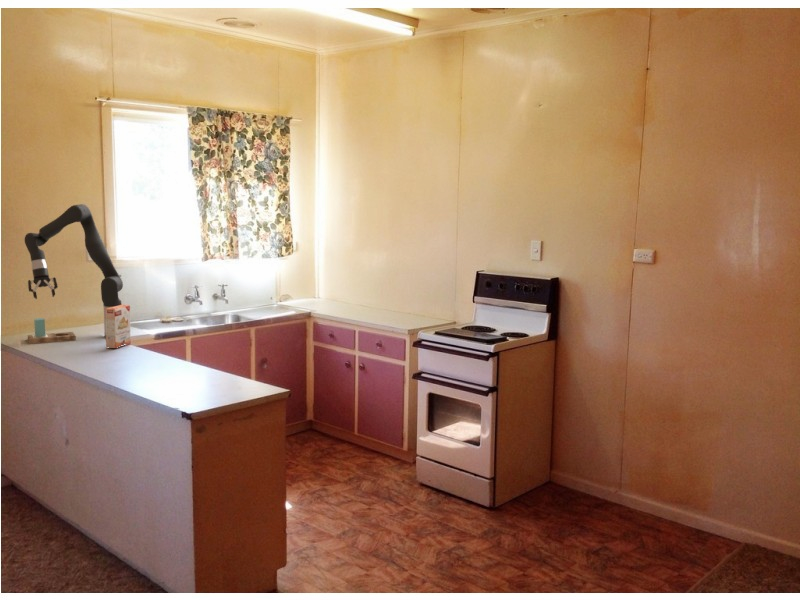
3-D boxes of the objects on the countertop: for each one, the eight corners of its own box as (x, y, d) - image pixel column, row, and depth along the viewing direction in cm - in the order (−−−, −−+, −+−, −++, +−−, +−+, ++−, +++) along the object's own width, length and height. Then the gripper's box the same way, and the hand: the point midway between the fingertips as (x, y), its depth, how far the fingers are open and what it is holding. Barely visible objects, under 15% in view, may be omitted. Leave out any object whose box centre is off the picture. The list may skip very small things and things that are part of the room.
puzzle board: (72, 337, 397) (72, 331, 396) (75, 341, 387) (75, 335, 386) (27, 340, 386) (27, 334, 385) (29, 345, 375) (29, 338, 375)
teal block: (44, 334, 386) (43, 318, 385) (45, 336, 382) (44, 319, 381) (35, 335, 384) (34, 318, 382) (35, 337, 380) (35, 320, 379)
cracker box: (116, 349, 370) (114, 309, 367) (105, 348, 371) (104, 308, 368) (131, 344, 383) (130, 305, 380) (121, 343, 384) (120, 304, 381)
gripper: (25, 269, 392) (31, 298, 391) (54, 266, 399) (59, 294, 398) (24, 271, 398) (29, 300, 397) (53, 268, 406) (58, 297, 405)
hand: (44, 297), depth 398 cm, fingers open, 8 cm apart
